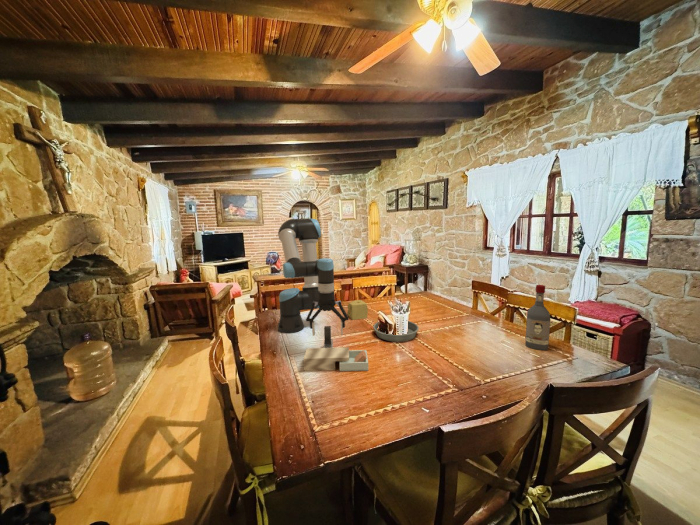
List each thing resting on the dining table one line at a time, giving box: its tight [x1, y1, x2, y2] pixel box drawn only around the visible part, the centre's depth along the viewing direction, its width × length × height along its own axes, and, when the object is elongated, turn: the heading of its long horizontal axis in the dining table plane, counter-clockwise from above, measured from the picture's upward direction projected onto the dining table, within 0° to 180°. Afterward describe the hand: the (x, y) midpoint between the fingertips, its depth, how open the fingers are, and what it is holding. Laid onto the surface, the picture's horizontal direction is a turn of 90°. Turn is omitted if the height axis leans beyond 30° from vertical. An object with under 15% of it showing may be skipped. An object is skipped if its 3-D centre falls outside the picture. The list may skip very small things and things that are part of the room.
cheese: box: [346, 299, 369, 321], centre depth 189 cm, size 10×11×10 cm
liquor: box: [524, 284, 551, 351], centre depth 138 cm, size 9×9×30 cm
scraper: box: [322, 325, 334, 348], centre depth 140 cm, size 4×10×12 cm, turn 1°
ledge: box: [303, 346, 350, 372], centre depth 126 cm, size 19×10×6 cm, turn 91°
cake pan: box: [372, 320, 420, 343], centre depth 160 cm, size 25×25×4 cm
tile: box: [355, 349, 367, 362], centre depth 126 cm, size 5×5×2 cm
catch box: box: [339, 349, 369, 372], centre depth 127 cm, size 12×12×4 cm
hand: (327, 334), depth 140 cm, fingers open, 13 cm apart
